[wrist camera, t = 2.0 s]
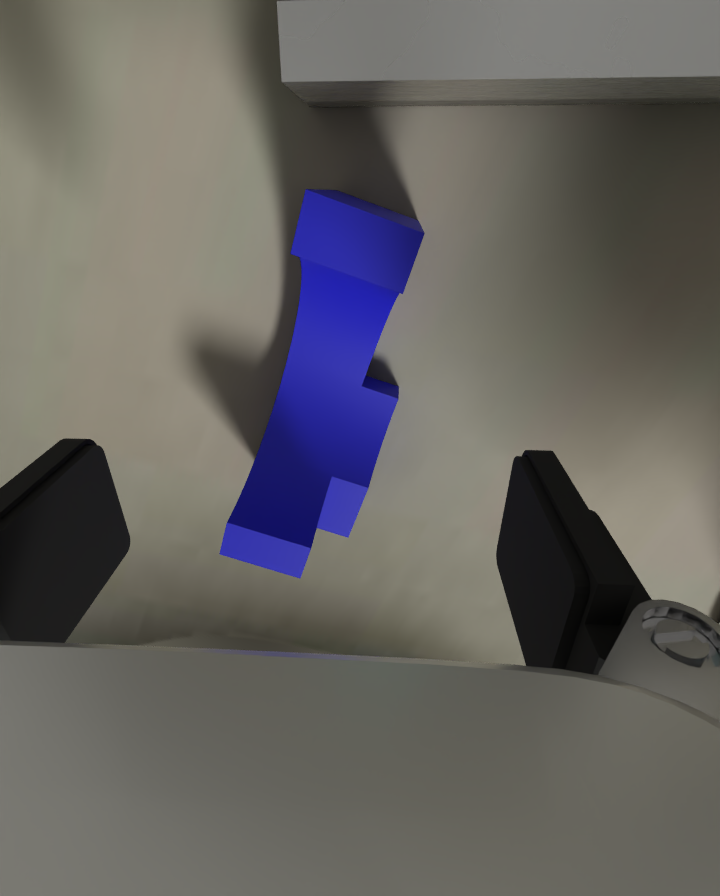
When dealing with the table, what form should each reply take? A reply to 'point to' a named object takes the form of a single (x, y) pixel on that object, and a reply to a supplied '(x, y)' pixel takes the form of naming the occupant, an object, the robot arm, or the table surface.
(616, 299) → the table surface
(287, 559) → the blue curved block
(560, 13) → the grey holder tray
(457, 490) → the table surface
